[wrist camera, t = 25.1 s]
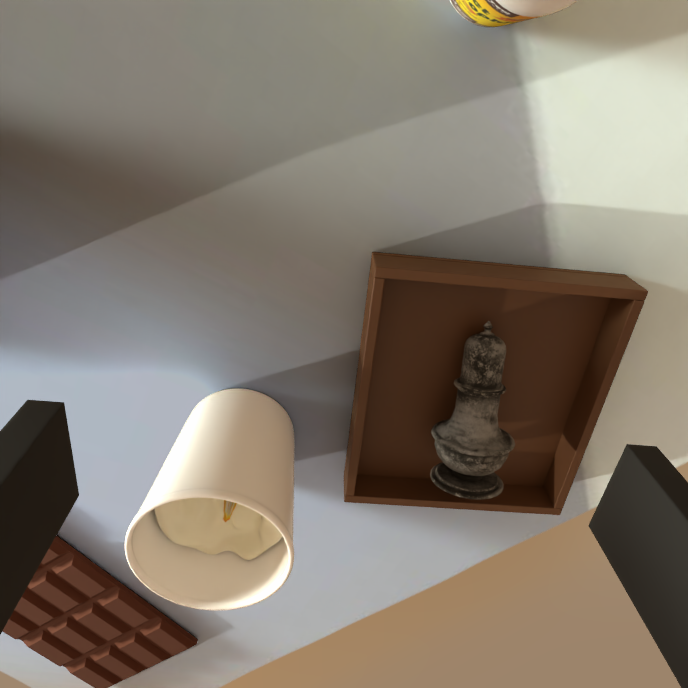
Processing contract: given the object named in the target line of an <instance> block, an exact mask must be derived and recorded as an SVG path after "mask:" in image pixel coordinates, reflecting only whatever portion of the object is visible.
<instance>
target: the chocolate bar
mask: <svg viewBox="0 0 688 688" xmlns="http://www.w3.org/2000/svg"><path fill="white" fill-rule="evenodd" d="M3 632H4V633H6V634H8V635H9V636H11V637H13V638H14V639H20V640H22V641H23V642H24V643H25V644H26V645H27V646H28V647H29V648H31V649H32V650H34V651H36V652H37V653H39V654H40V655H42V656H44V657H45V658H47V659H49V660H50V661H52V662H53V663H55V664H57V665H58V666H62V665H63V666H64V667H66V668H67V669H68V670H69V672H70V673H71V674H73V675H75V676H76V677H78V678H80V679H81V680H83V681H84V682H86V683H88V684H89V685H91V686H93V687H94V688H108V687H110V686H112V685H114V684H116V683H118V682H120V681H122V680H125V679H127V678H129V677H131V676H133V675H135V674H137V673H139V672H141V671H143V670H145V669H147V668H149V667H151V666H153V665H155V664H158V663H160V662H162V661H164V660H166V659H168V658H170V657H172V656H174V655H176V654H178V653H180V652H182V651H184V650H186V649H188V648H190V647H192V646H194V645H196V644H197V641H198V639H196V638H195V637H194V636H192V635H191V634H190V633H188V632H187V631H186V630H184V629H183V628H181V627H180V626H179V625H177V624H176V623H175V622H173V621H172V620H171V619H169V618H168V617H167V616H165V615H164V614H162V613H161V612H160V611H158V610H157V609H156V608H154V607H153V606H152V605H150V604H149V603H147V602H146V601H145V600H143V599H142V598H141V597H139V596H138V595H137V594H135V593H134V592H133V591H131V590H130V589H128V588H127V587H126V586H124V585H123V584H122V583H120V582H119V581H118V580H116V579H115V578H114V577H112V576H111V575H109V574H108V573H107V572H105V571H104V570H103V569H101V568H100V567H99V566H97V565H96V564H94V563H93V562H92V561H90V560H89V559H88V558H86V557H85V556H84V555H82V554H81V553H80V552H78V551H77V550H75V549H74V548H73V547H71V546H70V545H69V544H67V543H66V542H65V541H63V540H62V539H60V538H59V537H58V536H56V537H55V539H54V540H53V542H52V544H51V546H50V547H49V549H48V551H47V553H46V555H45V556H44V558H43V560H42V562H41V563H40V565H39V567H38V569H37V570H36V572H35V574H34V576H33V578H32V579H31V581H30V583H29V585H28V586H27V588H26V590H25V592H24V594H23V595H22V597H21V599H20V601H19V602H18V604H17V606H16V608H15V609H14V611H13V613H12V615H11V617H10V618H9V620H8V622H7V624H6V625H5V627H4V629H3Z"/></svg>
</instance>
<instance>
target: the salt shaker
mask: <svg viewBox="0 0 688 688" xmlns="http://www.w3.org/2000/svg"><path fill="white" fill-rule="evenodd" d="M483 327H484V328H485V330H484V331H483V332H480V333H479V334H475V335H472V336H470V337H469V338H468V339H467V340H466V342H465V345H464V353H463V360H462V368H461V375H460V377H459V378H457V379H456V380H455V381H454V385H455V386H456V387H457V388H458V390H457V397H456V405H455V409H454V412H453V414H452V416H451V418H450V419H447V420H442V421H440V422H438V423H436V424H435V425H434V426H433V427H432V431H431V433H432V436H433V438H434V439H435V443H434V444H435V448H436V451H437V454H438V456H439V458H440V459H441V460H442V463H439V464H437V465H435V466H434V467H433V468H432V469H431V473H430V477H431V480H432V481H433V483H434V484H435V485H436V486H437V487H439V488H440V489H442V490H443V491H445V492H447V493H450V494H452V495H455V496H458V497H461V498H467V499H478V500H482V499H490V498H493V497H496V496H498V495H499V494H500V493H501V492H502V490H503V487H504V486H503V482H502V480H501V478H500V477H499V476H498V475H497V474H496V473H494V472H495V471H497V470H498V469H500V468H501V467H502V465H503V464H504V462H505V461H506V459H507V457H508V455H509V452H510V451H512V450H513V449H514V447H515V441H514V439H513V438H512V436H511V435H510V434H509V433H507V432H506V431H505V430H503V429H501V428H499V425H498V409H499V402H500V396H501V394H503V393H505V392H506V387H505V386H504V385H503V384H502V383H501V382H502V375H503V369H504V363H505V356H506V345H505V343H504V341H503V340H502V339H500V338H499V337H497V336H495V335H494V333H492V332H491V329H492V328H493V326H492V324H491V323H490V321H488V322H487V323H485V325H484V326H483Z"/></svg>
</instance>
